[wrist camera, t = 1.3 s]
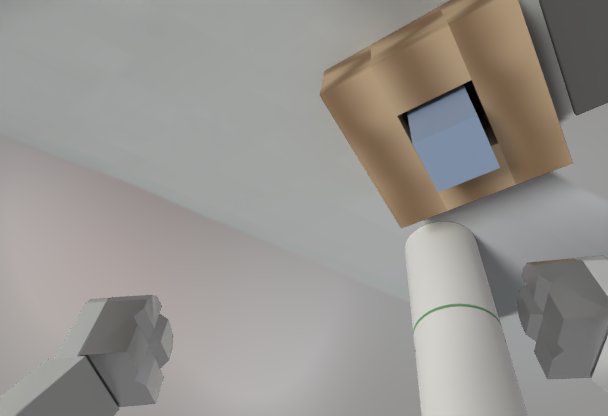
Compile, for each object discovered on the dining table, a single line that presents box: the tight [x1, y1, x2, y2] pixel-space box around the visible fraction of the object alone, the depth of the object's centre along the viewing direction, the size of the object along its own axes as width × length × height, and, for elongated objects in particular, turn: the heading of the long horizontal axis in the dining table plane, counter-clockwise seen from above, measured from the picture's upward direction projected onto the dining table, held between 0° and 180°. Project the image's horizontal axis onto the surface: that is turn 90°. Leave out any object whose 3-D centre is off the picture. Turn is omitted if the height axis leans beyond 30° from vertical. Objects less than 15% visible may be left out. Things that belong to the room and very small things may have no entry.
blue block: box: [407, 84, 500, 192], centre depth 35 cm, size 4×4×9 cm
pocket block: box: [320, 0, 572, 228], centre depth 36 cm, size 14×14×5 cm
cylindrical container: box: [405, 221, 528, 416], centre depth 37 cm, size 7×7×25 cm
